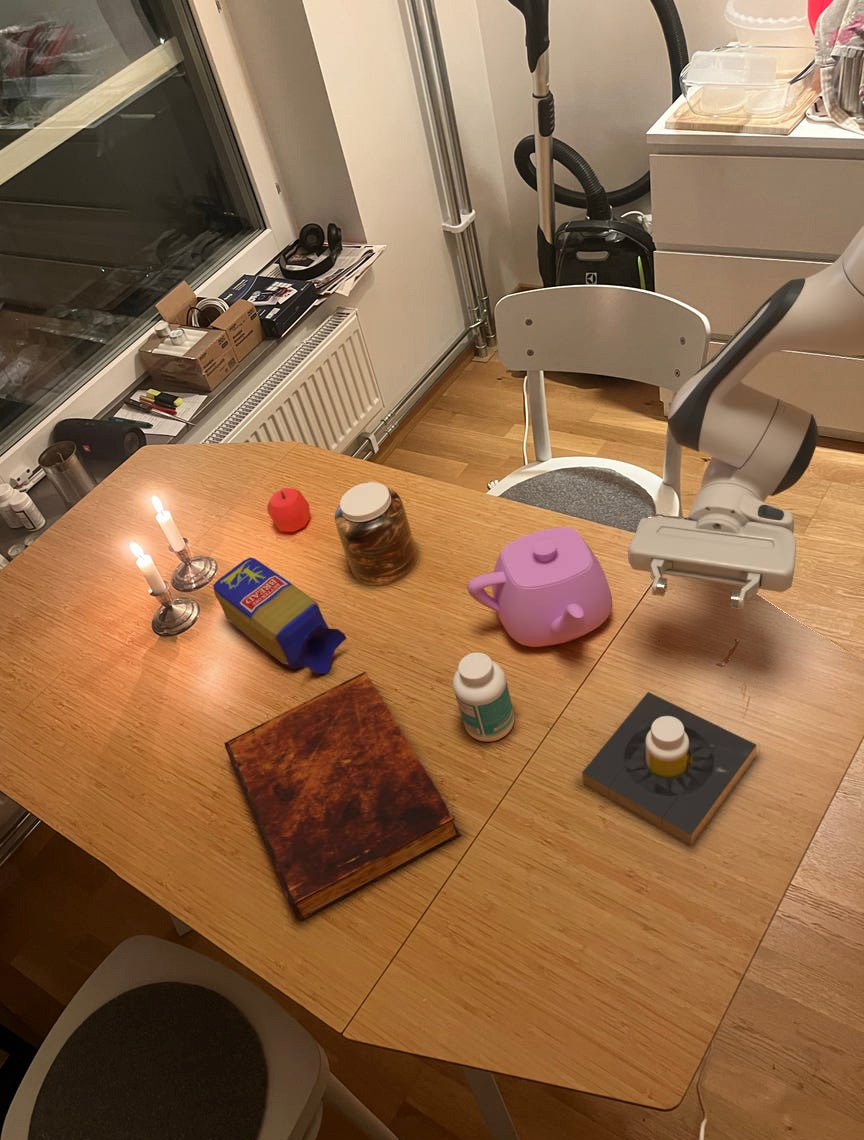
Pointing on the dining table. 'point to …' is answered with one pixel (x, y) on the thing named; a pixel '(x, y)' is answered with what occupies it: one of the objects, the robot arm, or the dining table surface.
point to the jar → (375, 534)
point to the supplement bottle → (667, 748)
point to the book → (338, 795)
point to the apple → (289, 509)
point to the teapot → (546, 588)
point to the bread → (277, 616)
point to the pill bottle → (483, 697)
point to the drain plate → (673, 800)
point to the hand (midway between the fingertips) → (696, 598)
